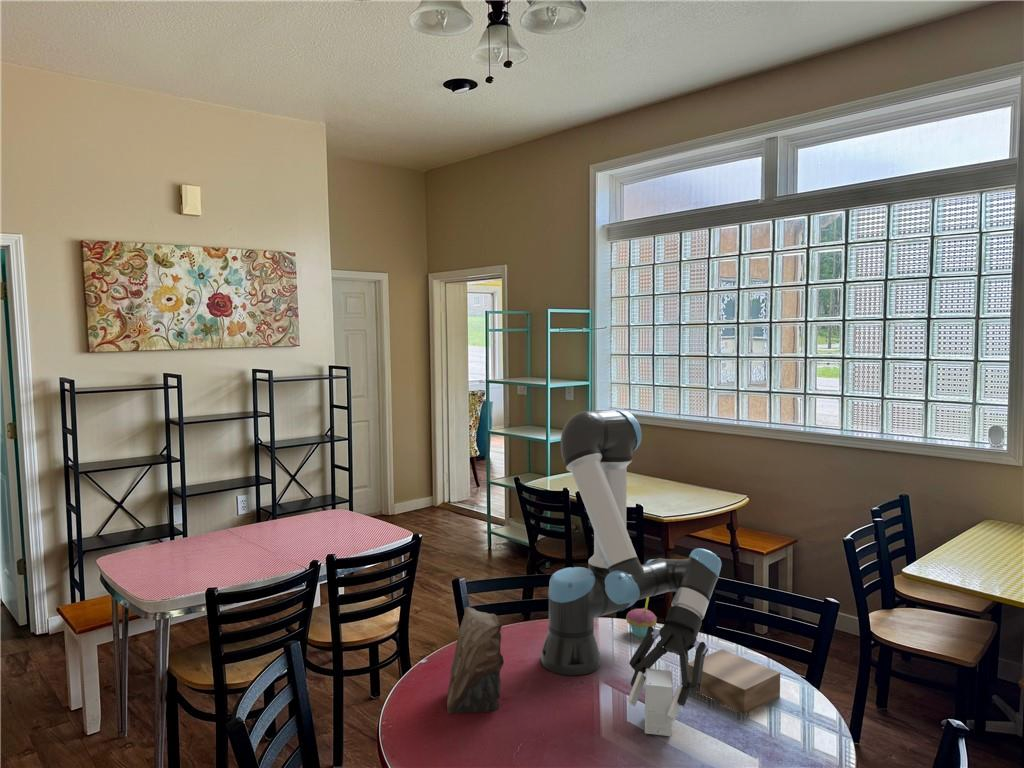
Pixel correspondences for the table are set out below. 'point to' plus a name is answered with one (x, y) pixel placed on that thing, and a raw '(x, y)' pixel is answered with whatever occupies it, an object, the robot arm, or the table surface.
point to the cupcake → (641, 620)
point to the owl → (476, 665)
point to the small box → (658, 701)
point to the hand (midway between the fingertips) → (650, 710)
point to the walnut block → (737, 681)
